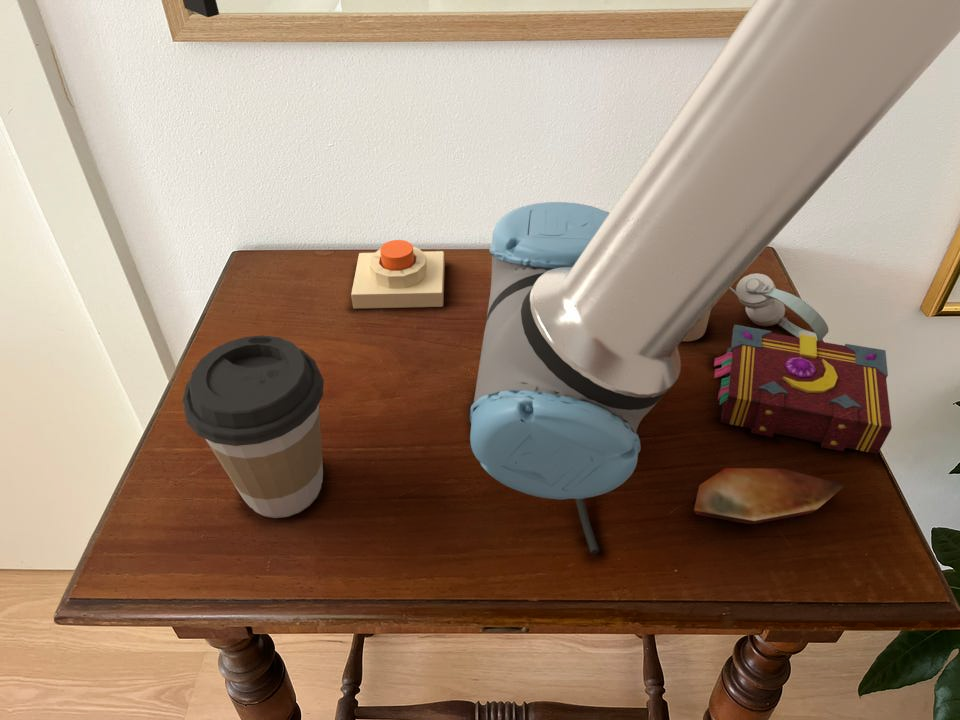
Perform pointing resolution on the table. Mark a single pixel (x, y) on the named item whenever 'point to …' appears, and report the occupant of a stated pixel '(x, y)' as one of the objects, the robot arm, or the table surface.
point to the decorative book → (805, 389)
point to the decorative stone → (762, 495)
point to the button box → (399, 282)
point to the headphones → (777, 306)
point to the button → (397, 255)
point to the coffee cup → (261, 420)
